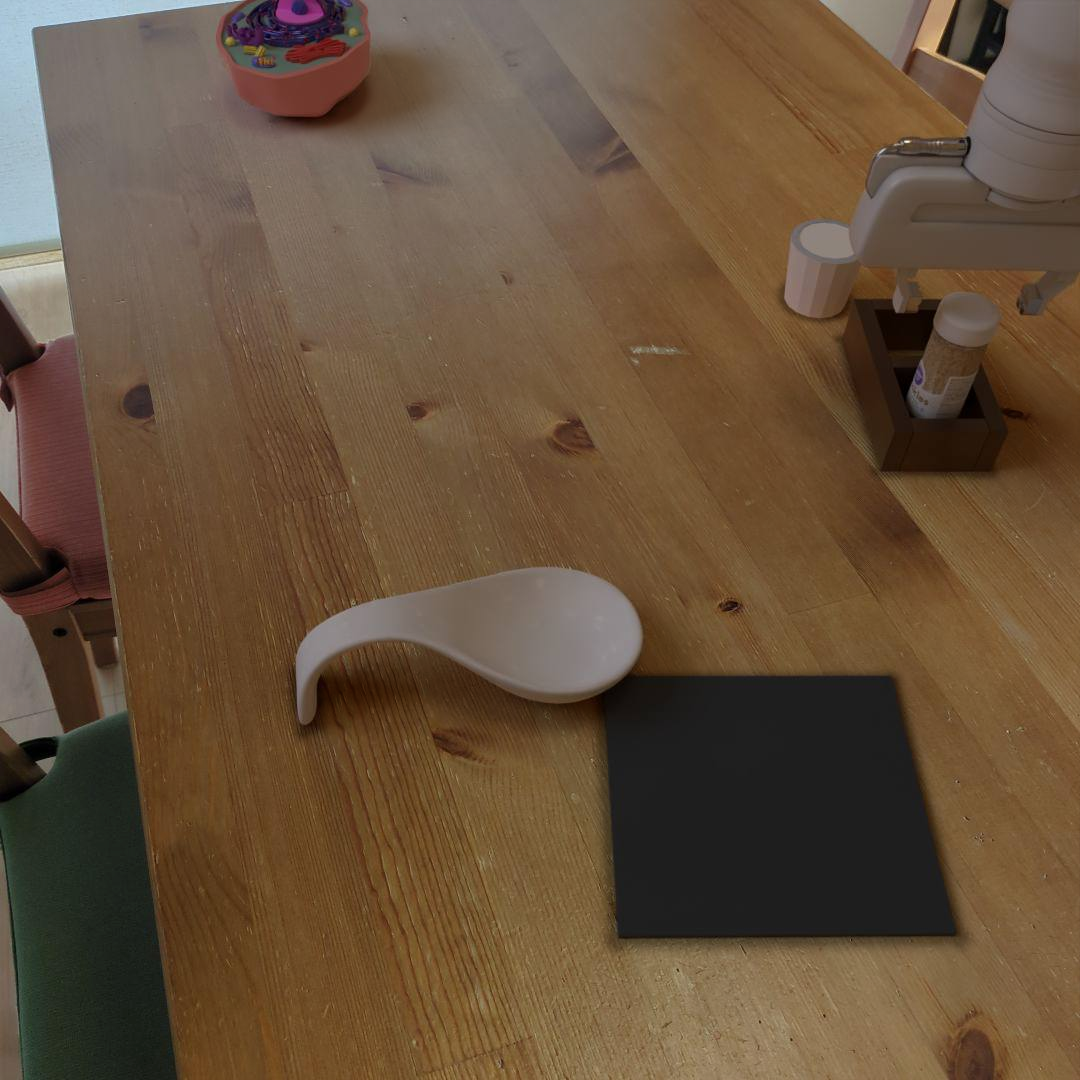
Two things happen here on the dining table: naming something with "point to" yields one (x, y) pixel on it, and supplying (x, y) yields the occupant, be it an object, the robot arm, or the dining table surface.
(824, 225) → the white short cylinder
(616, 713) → the mat
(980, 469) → the bottle rack
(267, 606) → the dining table surface
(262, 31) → the cell model
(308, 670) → the spoon rest
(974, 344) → the sprinkles bottle
